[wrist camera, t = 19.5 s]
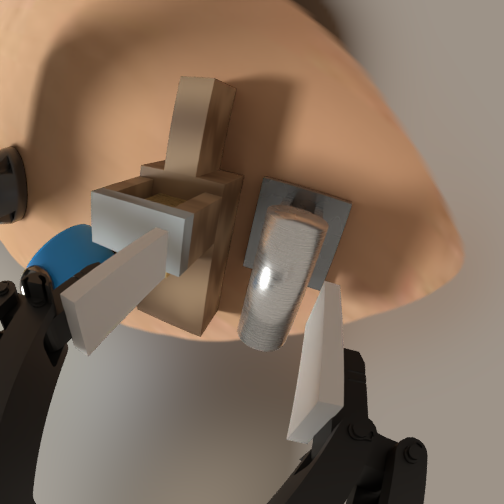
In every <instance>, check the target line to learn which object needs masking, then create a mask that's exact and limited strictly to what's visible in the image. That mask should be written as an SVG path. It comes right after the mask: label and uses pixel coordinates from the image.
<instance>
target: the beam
mask: <svg viewBox="0 0 504 504" xmlns="http://www.w3.org/2000/svg"><path fill="white" fill-rule="evenodd" d="M235 92H236V88H234V87H232V86H230V85H228V84H226V83H224V82H221V81H219V80H217V79H215V78H203V77H186V76H181V77H180V82H179V86H178V91H177V96H176V101H175V106H174V111H173V116H172V122H171V128H170V134H169V140H168V146H167V153H166V160H164V161H159V162H154V163H149V164H145V165H141V171H140V176H139V177H136V178H132V179H129V180H125V181H122V182H119V183H115V184H112V185H109V186H106V187H103V188H100V189H97V190H94V191H91V222H92V242H95V243H97V244H99V245H102V246H104V247H106V248H108V249H111V250H113V251H116V252H119V251H120V250H122V249H123V248H125V247H126V246H128V245H129V244H131V243H132V242H134V241H135V240H137V239H138V238H140V237H142V236H143V235H145V234H146V233H148V232H149V231H151V230H152V229H154V228H160V229H163V230H166V231H169V232H168V244H167V257H166V272H167V273H170V275H169V276H168V277H167V278H164V279H163V280H162V281H161V282H160V283H159V284H158V285H157V286H156V287H155V288H154V289H153V290H152V291H151V292H150V293H149V294H148V295H147V296H146V297H145V298H144V299H143V300H142V301H141V302H140V303H139V304H138V305H137V308H138V310H140V311H143V312H145V313H147V314H149V315H151V316H153V317H155V318H158V319H160V320H162V321H164V322H166V323H169V324H171V325H173V326H176V327H178V328H180V329H183V330H185V331H187V332H190V333H192V334H195V335H197V336H199V337H201V335H202V334H203V332H204V331H205V329H206V328H207V326H208V324H209V323H210V321H211V320H212V318H213V317H214V315H215V314H216V312H217V311H218V305H219V300H220V294H221V289H222V283H223V278H224V273H225V268H226V262H227V257H228V252H229V247H230V242H231V237H232V232H233V227H234V222H235V217H236V212H237V207H238V202H239V197H240V193H241V188H242V183H243V178H244V176H243V175H239V174H235V173H231V172H227V171H223V170H219V169H220V164H221V158H222V153H223V148H224V143H225V138H226V134H227V129H228V124H229V119H230V115H231V110H232V106H233V101H234V97H235ZM159 193H162V194H165V195H169V196H173V197H176V198H180V199H184V200H187V201H186V202H184V203H182V204H180V205H178V206H176V207H174V208H173V207H170V206H167V205H163V204H160V203H156V202H152V201H149V200H145V199H146V198H149V197H151V196H154V195H156V194H159Z"/></svg>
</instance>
